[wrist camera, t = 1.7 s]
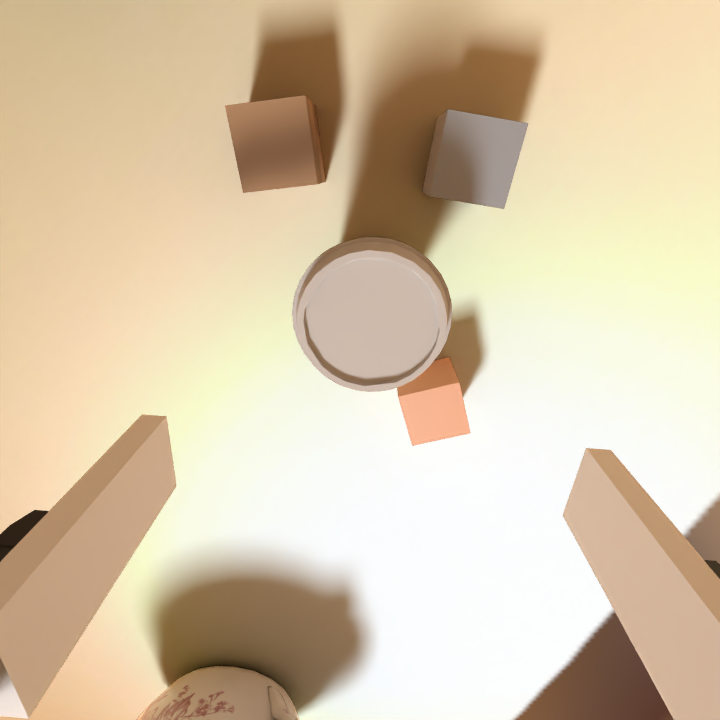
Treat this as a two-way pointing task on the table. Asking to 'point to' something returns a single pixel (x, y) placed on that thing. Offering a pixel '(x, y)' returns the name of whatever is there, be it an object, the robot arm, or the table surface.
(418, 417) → the terracotta cube
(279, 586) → the table surface
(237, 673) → the chamber pot
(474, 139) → the slate grey cube
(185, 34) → the table surface
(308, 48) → the table surface
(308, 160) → the walnut cube
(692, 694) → the robot arm
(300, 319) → the disposable coffee cup
